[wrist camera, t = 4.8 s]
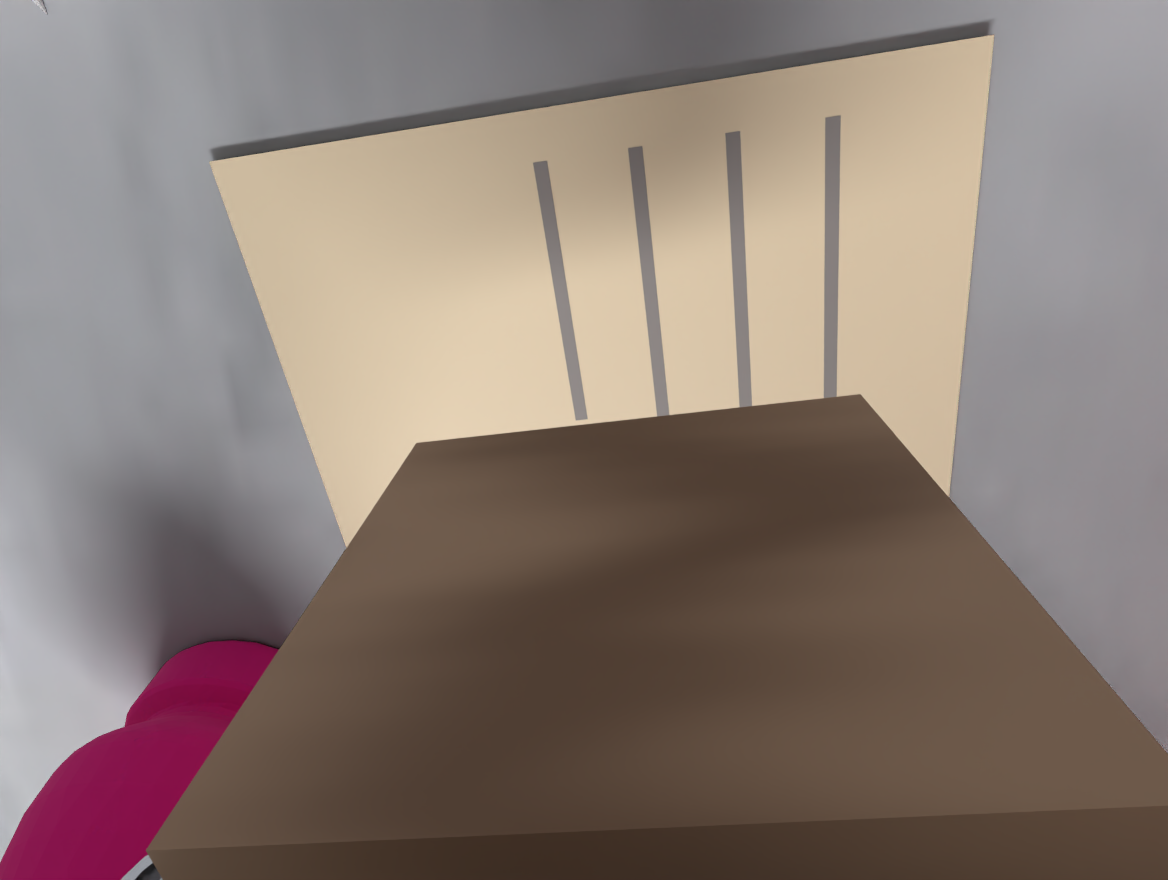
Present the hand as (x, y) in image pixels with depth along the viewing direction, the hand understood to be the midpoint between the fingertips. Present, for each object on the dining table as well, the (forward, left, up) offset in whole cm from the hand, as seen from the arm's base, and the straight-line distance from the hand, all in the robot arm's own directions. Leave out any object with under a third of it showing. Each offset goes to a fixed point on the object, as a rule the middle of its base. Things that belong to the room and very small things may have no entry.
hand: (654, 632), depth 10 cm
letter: (0, -1, -8) cm, 8 cm away
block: (0, 0, -1) cm, 1 cm away
